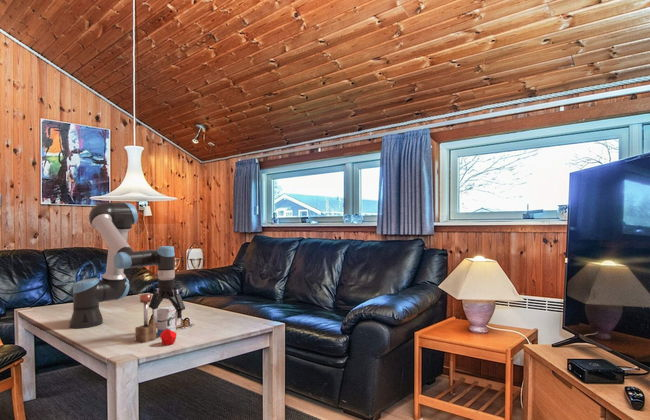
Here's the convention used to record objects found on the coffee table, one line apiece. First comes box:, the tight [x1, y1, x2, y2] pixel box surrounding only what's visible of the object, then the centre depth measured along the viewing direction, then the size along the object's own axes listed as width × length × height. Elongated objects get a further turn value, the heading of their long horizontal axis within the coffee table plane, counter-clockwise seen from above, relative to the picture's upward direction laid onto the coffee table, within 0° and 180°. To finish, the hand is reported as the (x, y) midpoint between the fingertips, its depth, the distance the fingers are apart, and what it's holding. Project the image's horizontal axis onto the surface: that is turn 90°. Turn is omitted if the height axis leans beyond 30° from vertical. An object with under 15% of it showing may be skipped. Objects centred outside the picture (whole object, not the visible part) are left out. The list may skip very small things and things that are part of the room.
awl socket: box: [134, 324, 157, 343], centre depth 184 cm, size 6×6×6 cm
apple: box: [159, 329, 178, 346], centre depth 179 cm, size 7×7×8 cm
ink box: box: [156, 305, 177, 336], centre depth 196 cm, size 8×5×12 cm, turn 167°
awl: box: [139, 293, 152, 327], centre depth 185 cm, size 4×4×15 cm
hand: (166, 324), depth 196 cm, fingers open, 13 cm apart
